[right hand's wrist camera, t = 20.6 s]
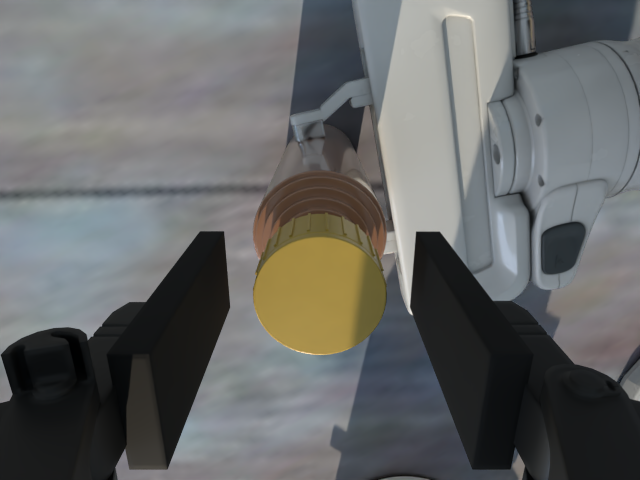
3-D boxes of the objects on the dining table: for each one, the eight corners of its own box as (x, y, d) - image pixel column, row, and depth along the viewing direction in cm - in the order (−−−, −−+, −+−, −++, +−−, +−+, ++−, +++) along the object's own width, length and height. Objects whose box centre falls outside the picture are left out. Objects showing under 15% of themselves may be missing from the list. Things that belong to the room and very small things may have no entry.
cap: (235, 262, 14) (222, 292, 12) (326, 185, 14) (327, 205, 12) (314, 339, 15) (313, 378, 13) (402, 272, 15) (416, 304, 13)
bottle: (363, 181, 33) (426, 336, 14) (298, 202, 34) (268, 380, 14) (343, 113, 32) (381, 178, 12) (274, 137, 32) (202, 235, 12)
